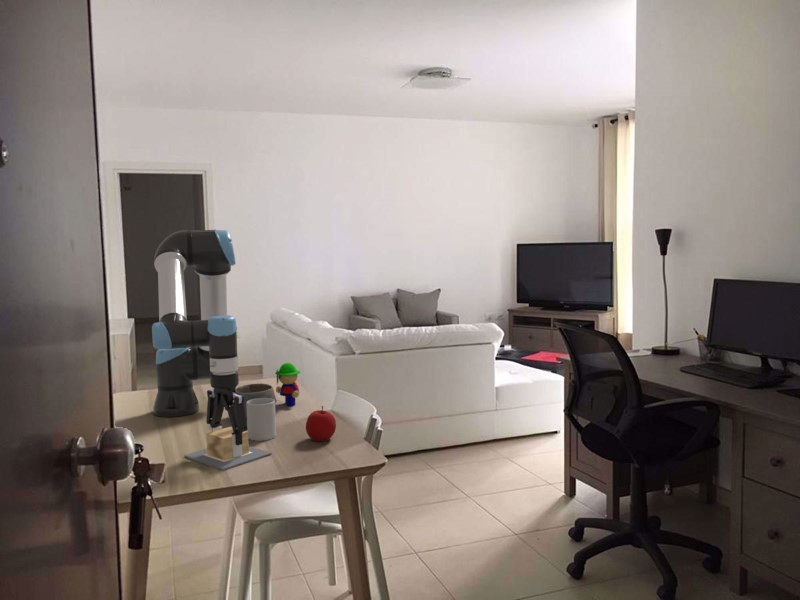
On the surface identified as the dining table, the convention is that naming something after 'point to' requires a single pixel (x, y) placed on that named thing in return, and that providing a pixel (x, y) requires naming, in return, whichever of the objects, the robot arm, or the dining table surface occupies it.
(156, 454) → the dining table surface
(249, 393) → the bowl
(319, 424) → the apple
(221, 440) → the oak block
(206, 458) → the grey rectangular mat
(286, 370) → the toy
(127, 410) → the dining table surface
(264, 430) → the mug
